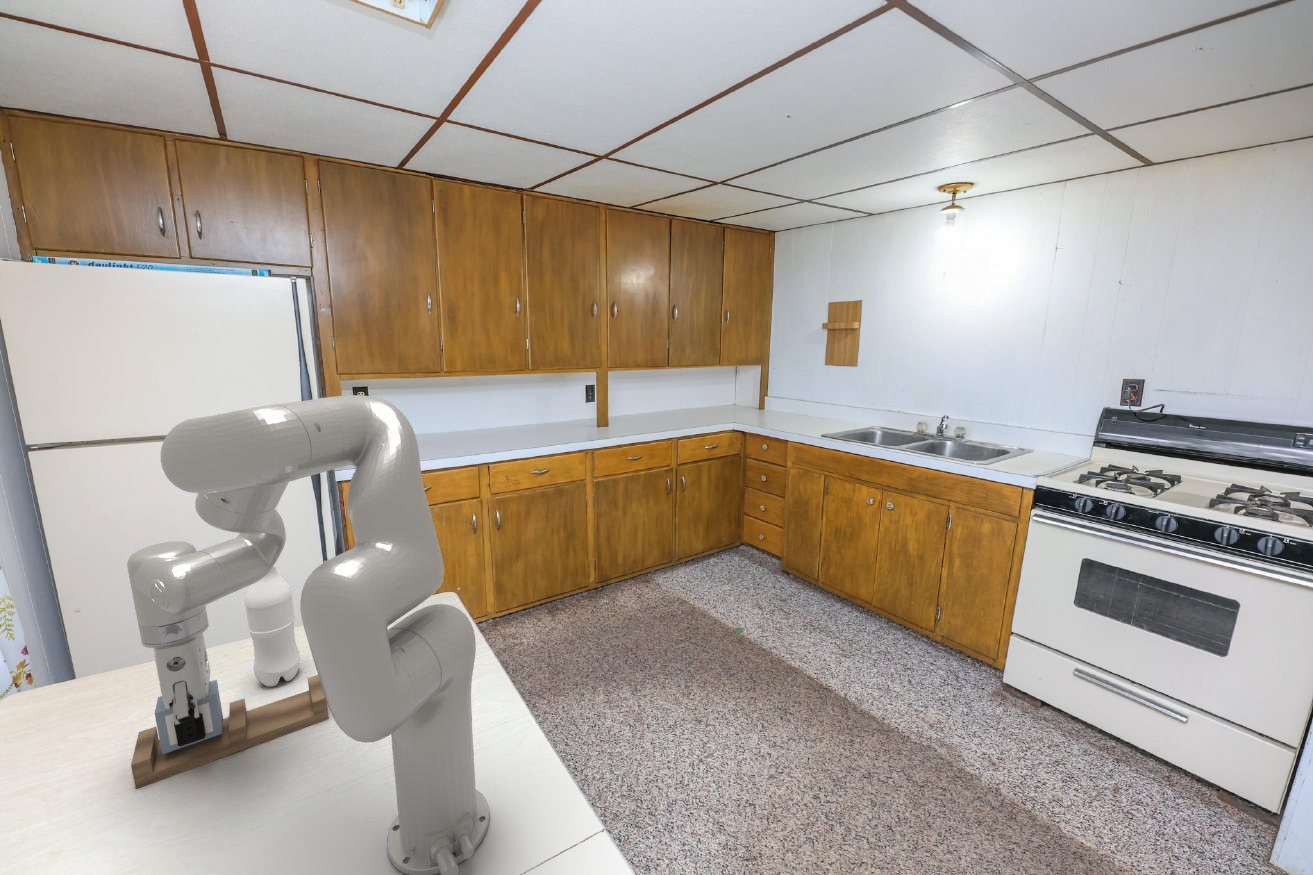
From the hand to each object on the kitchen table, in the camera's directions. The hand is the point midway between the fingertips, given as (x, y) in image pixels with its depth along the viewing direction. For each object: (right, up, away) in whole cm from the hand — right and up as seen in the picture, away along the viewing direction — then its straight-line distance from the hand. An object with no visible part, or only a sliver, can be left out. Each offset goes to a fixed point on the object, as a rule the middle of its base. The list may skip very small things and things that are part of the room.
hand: (193, 730), depth 83 cm
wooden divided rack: (+4, -3, +4) cm, 7 cm away
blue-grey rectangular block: (0, -1, 0) cm, 1 cm away
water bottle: (0, 0, +19) cm, 19 cm away
